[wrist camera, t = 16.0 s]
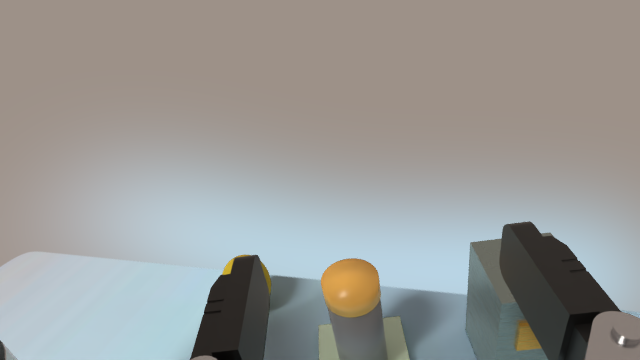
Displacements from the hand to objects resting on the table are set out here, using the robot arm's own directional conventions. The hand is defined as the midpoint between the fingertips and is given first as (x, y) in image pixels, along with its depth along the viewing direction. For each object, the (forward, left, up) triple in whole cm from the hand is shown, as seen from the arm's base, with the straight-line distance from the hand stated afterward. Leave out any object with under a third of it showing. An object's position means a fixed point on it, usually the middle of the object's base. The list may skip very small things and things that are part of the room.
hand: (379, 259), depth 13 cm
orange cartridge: (-1, +15, -27) cm, 31 cm away
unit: (+13, +14, -28) cm, 34 cm away
